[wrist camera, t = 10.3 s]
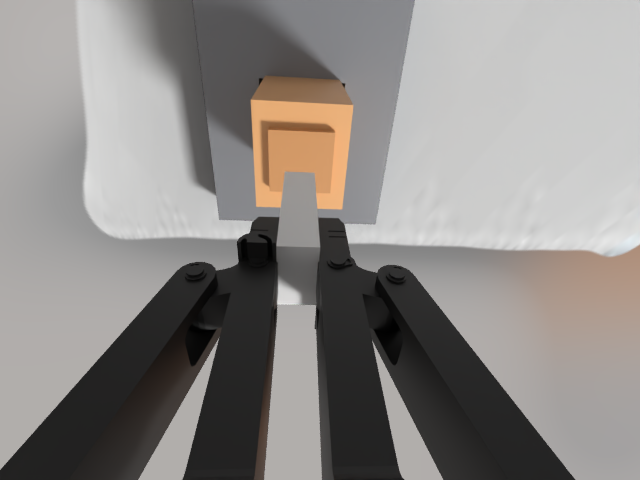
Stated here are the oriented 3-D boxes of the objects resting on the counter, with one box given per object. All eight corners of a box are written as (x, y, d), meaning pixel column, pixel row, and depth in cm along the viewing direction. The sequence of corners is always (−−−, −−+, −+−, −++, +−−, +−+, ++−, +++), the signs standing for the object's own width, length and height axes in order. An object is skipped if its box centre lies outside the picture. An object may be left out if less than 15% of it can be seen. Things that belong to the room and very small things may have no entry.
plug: (267, 71, 29) (249, 101, 19) (337, 75, 29) (354, 107, 19) (269, 150, 33) (255, 210, 23) (331, 153, 33) (343, 213, 23)
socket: (202, -28, 26) (188, -33, 23) (403, -12, 27) (417, -16, 24) (226, 201, 38) (219, 219, 34) (369, 206, 39) (375, 224, 35)
